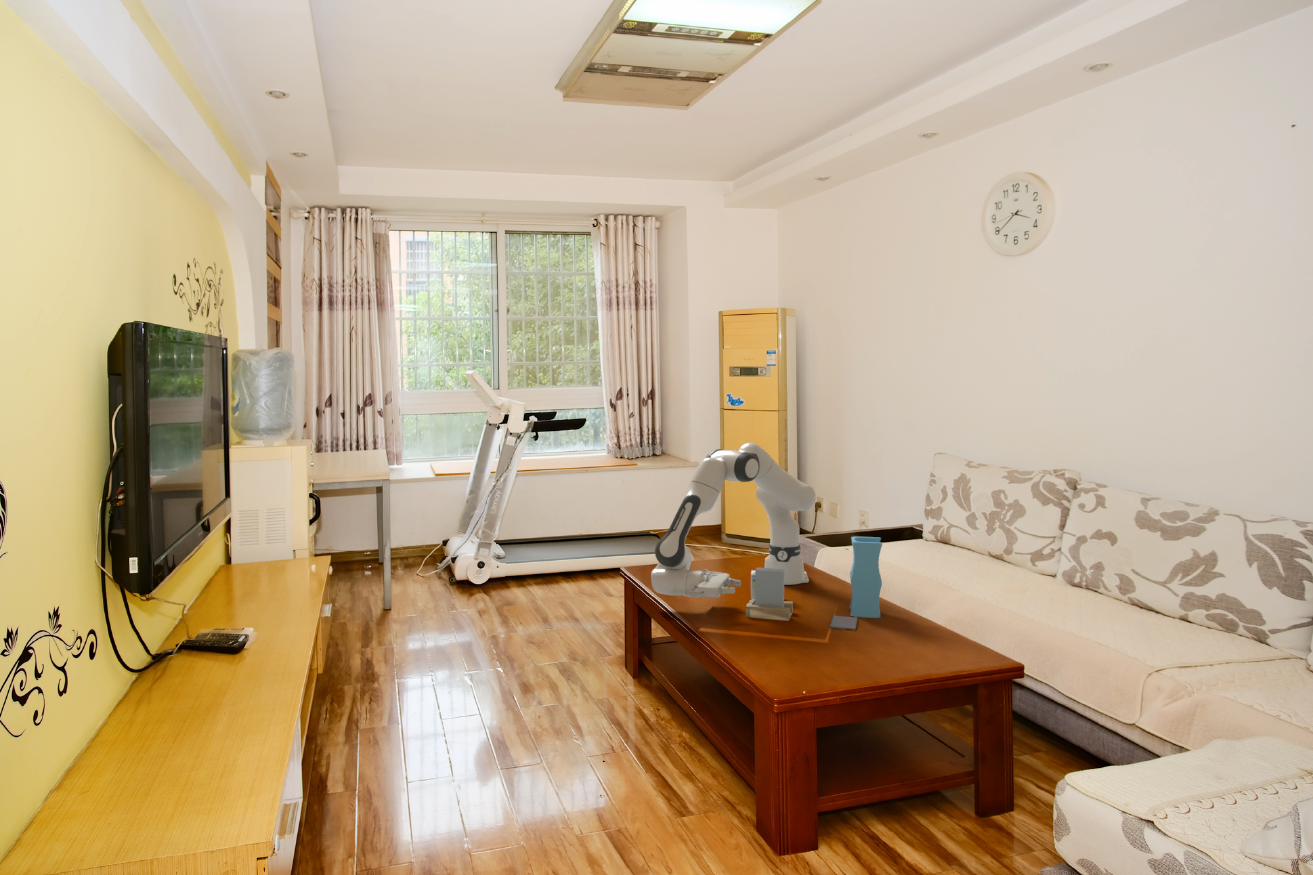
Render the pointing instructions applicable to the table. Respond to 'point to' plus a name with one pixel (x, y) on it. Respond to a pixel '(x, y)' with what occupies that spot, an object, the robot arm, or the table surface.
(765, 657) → the table surface
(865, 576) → the vase
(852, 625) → the felt pad
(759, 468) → the robot arm
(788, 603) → the birch box
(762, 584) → the cover plate
